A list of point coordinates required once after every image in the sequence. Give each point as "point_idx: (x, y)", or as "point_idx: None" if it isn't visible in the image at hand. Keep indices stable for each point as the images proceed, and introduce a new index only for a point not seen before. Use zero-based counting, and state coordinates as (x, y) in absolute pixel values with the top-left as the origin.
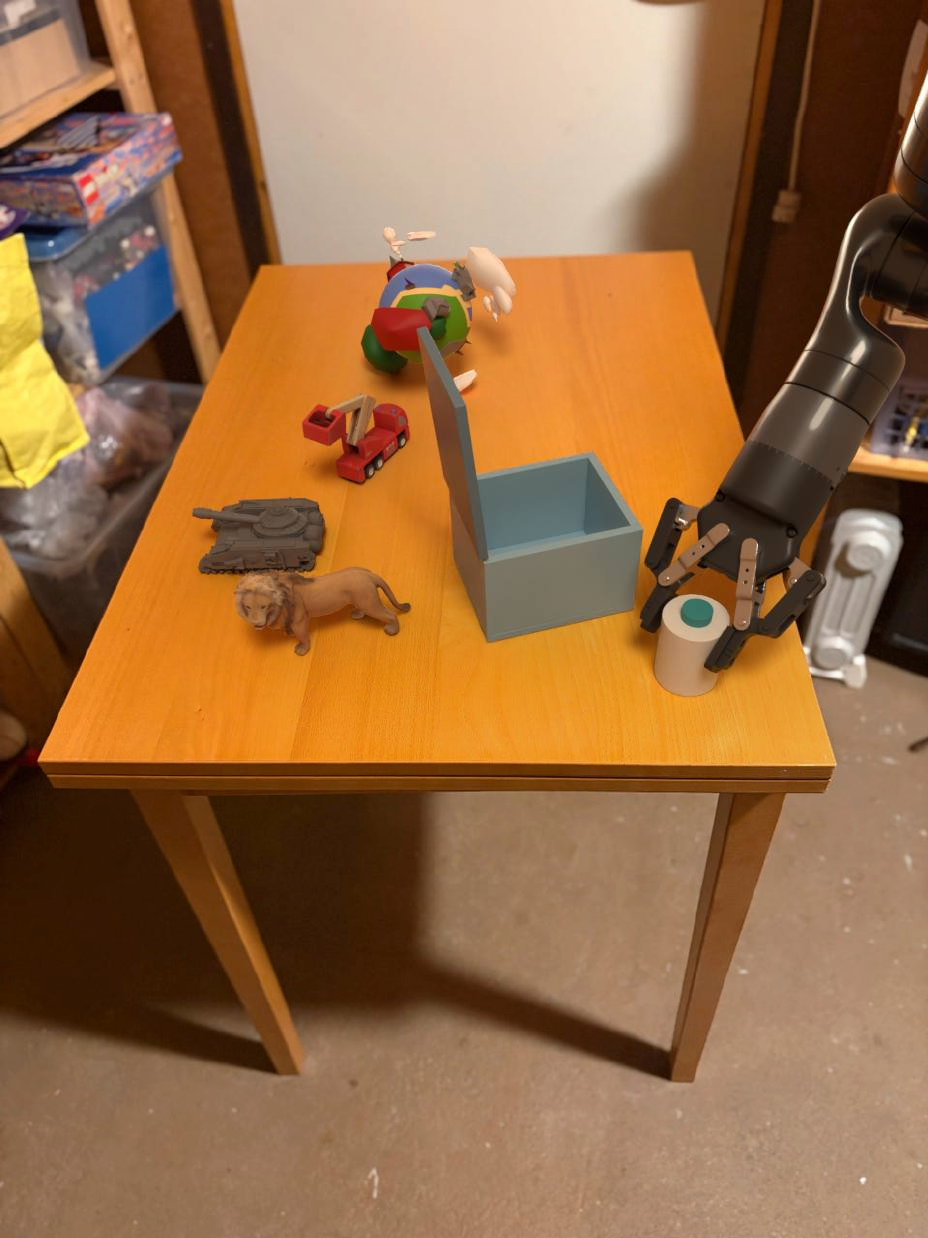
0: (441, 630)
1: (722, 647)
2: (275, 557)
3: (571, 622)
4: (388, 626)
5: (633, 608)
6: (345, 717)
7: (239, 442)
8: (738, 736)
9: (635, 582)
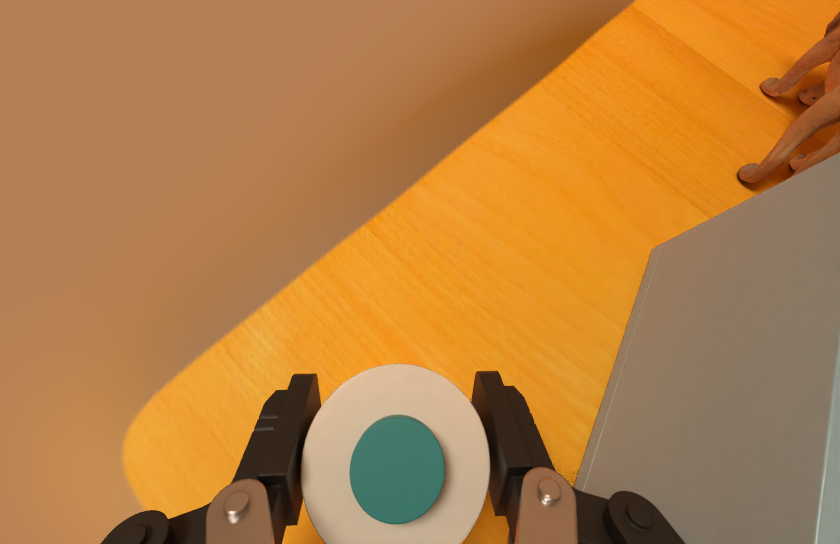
0: None
1: (282, 420)
2: None
3: (612, 374)
4: (757, 165)
5: None
6: (644, 61)
7: None
8: (246, 375)
9: None
